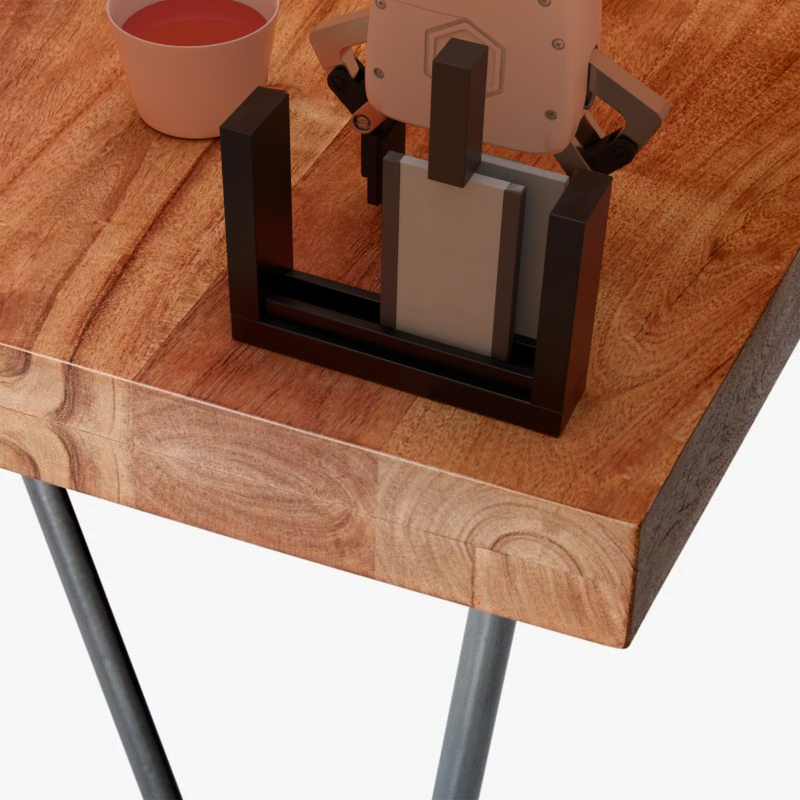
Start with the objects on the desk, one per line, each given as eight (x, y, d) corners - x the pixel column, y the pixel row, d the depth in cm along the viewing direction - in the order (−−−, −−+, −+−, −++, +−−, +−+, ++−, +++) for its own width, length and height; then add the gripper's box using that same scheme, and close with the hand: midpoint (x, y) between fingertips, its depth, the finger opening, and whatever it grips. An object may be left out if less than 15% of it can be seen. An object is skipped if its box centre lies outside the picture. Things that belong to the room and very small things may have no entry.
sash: (373, 338, 74) (377, 47, 64) (391, 313, 75) (398, 23, 65) (501, 376, 72) (526, 83, 62) (517, 349, 74) (544, 58, 64)
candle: (163, 51, 95) (155, -51, 91) (308, 83, 93) (306, -19, 89) (87, 131, 89) (74, 26, 85) (240, 167, 87) (235, 61, 82)
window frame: (231, 339, 76) (218, 126, 69) (266, 294, 79) (258, 84, 71) (559, 438, 72) (585, 223, 64) (585, 388, 74) (613, 175, 67)
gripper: (272, -120, 70) (283, 212, 81) (668, -36, 65) (620, 305, 76) (346, -186, 75) (347, 135, 87) (718, -112, 70) (667, 217, 82)
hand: (475, 214), depth 81 cm, fingers open, 9 cm apart
